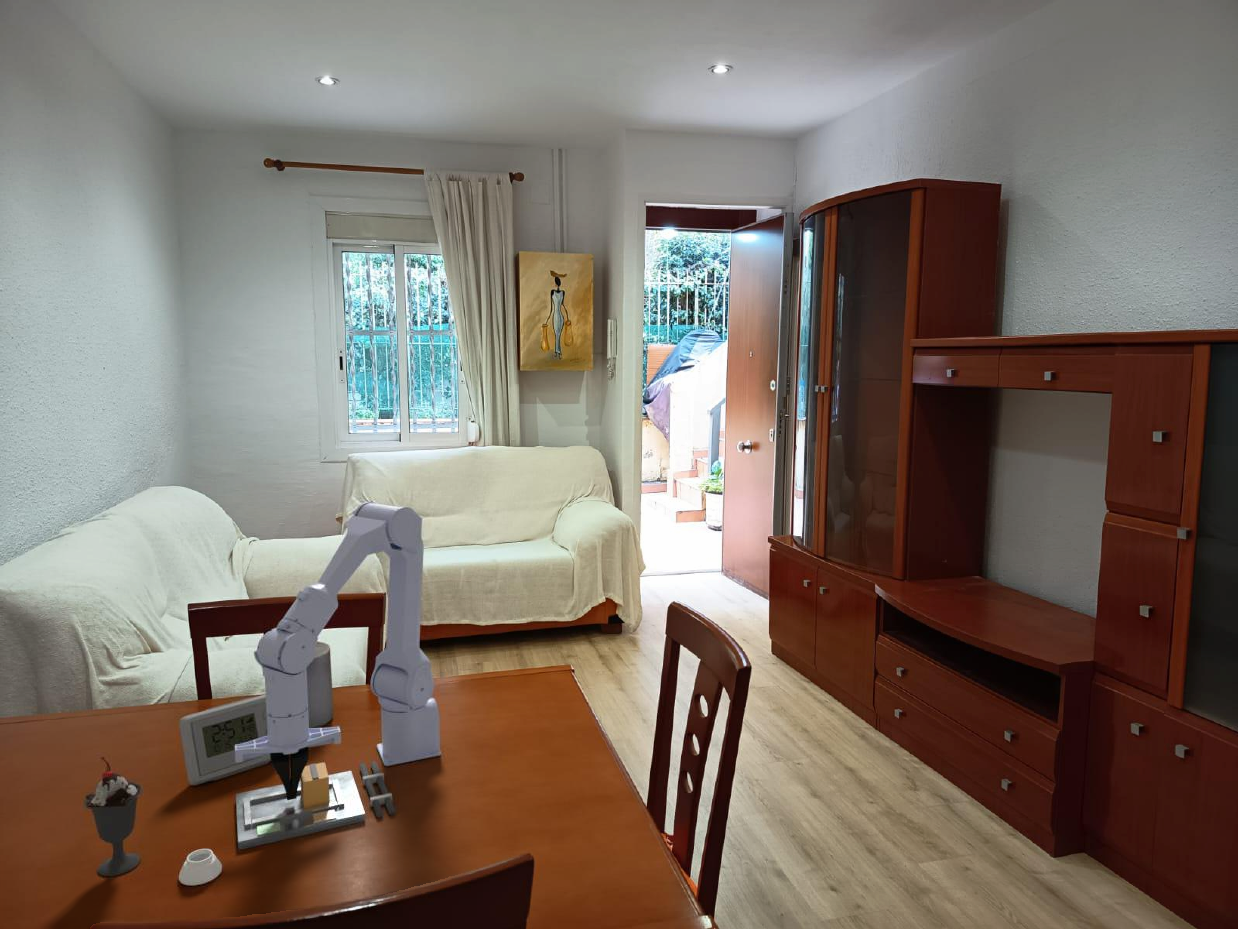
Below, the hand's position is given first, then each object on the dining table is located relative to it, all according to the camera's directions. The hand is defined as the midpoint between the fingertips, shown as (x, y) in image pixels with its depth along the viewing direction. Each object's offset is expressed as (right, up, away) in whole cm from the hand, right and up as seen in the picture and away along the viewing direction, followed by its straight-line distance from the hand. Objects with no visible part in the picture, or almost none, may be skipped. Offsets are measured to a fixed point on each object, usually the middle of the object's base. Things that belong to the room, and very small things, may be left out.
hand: (291, 796), depth 123 cm
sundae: (-18, -4, -13) cm, 23 cm away
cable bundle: (+11, -2, +7) cm, 13 cm away
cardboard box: (+3, -1, +2) cm, 4 cm away
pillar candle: (-10, +1, +32) cm, 33 cm away
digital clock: (-15, -1, +14) cm, 20 cm away
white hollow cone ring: (-6, -5, -15) cm, 17 cm away
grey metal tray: (+1, -3, +1) cm, 3 cm away
